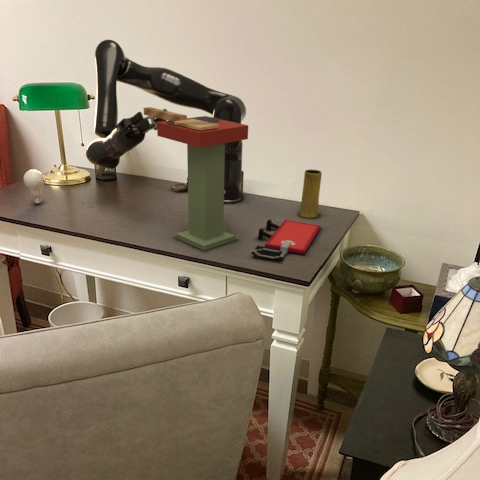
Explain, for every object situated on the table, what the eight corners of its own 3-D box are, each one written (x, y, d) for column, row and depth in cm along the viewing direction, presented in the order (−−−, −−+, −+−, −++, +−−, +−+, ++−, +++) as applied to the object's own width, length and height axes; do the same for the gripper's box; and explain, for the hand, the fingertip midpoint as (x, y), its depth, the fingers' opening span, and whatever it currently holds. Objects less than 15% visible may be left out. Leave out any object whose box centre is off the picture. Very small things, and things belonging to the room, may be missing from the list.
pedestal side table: (161, 233, 153) (156, 121, 137) (205, 221, 163) (205, 115, 148) (201, 251, 142) (201, 132, 126) (245, 236, 153) (249, 124, 137)
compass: (174, 186, 194) (173, 166, 190) (194, 188, 193) (194, 168, 189) (167, 192, 187) (166, 172, 184) (188, 194, 186) (188, 174, 182)
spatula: (137, 115, 143) (136, 108, 143) (156, 113, 148) (155, 106, 147) (200, 130, 128) (199, 123, 127) (219, 127, 132) (219, 120, 131)
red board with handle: (243, 256, 140) (298, 266, 136) (244, 246, 138) (299, 256, 135) (273, 222, 165) (319, 229, 161) (273, 213, 163) (321, 221, 160)
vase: (320, 214, 173) (325, 170, 166) (314, 219, 168) (319, 175, 161) (302, 211, 175) (307, 168, 168) (296, 216, 170) (300, 172, 163)
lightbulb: (41, 207, 169) (36, 173, 163) (23, 205, 170) (17, 171, 164) (51, 201, 174) (46, 168, 169) (34, 199, 175) (28, 166, 170)
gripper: (101, 126, 151) (127, 102, 138) (142, 121, 160) (170, 98, 147) (110, 151, 152) (137, 130, 139) (150, 145, 161) (179, 124, 148)
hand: (154, 113), depth 143 cm, fingers open, 8 cm apart
